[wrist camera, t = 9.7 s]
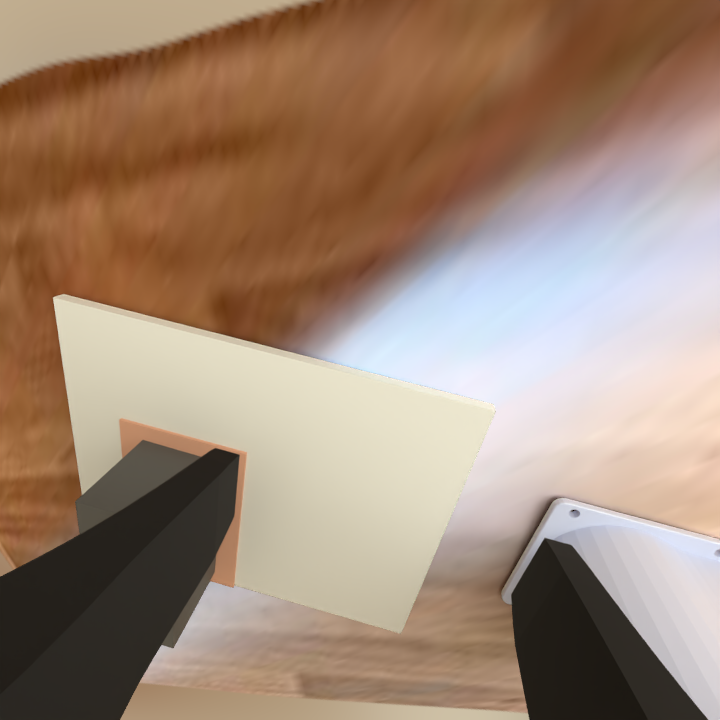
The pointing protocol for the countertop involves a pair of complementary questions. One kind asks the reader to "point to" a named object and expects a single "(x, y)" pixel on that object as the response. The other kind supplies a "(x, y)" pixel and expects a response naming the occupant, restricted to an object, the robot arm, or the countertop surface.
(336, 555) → the cream mat
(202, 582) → the domino block
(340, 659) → the countertop surface
